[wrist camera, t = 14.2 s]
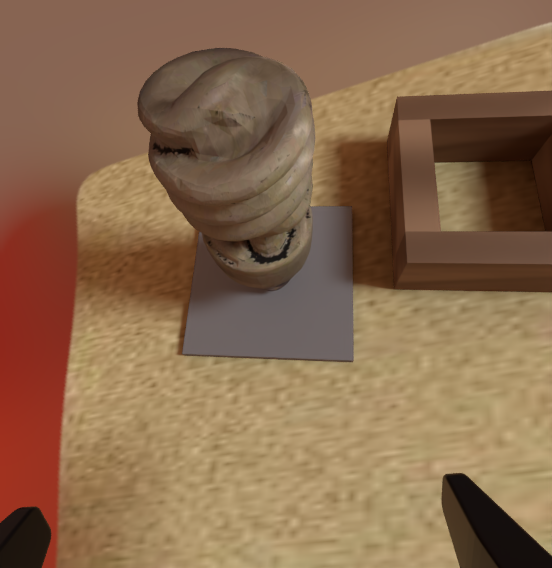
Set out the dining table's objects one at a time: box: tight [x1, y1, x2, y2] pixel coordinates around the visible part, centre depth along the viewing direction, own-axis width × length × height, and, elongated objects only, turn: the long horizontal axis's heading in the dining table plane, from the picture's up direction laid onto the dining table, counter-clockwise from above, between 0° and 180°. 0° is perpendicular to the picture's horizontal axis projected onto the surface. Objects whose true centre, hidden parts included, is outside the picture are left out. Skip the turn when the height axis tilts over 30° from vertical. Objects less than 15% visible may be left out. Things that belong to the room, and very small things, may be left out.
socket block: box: [387, 91, 552, 292], centre depth 23 cm, size 11×11×4 cm
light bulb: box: [138, 48, 315, 291], centre depth 18 cm, size 6×6×15 cm
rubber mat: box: [182, 206, 353, 362], centre depth 25 cm, size 10×10×1 cm
